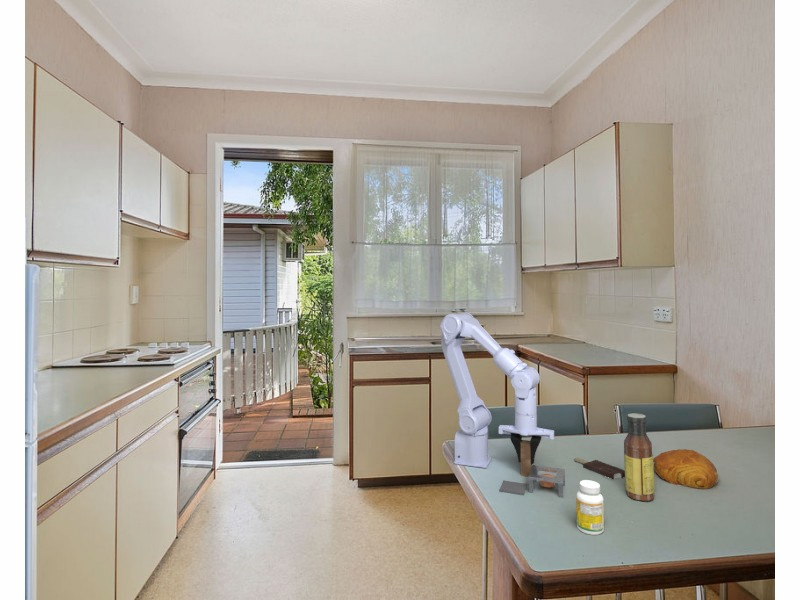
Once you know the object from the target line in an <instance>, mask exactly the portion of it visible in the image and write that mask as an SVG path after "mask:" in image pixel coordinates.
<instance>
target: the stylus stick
mask: <svg viewBox="0 0 800 600" xmlns="http://www.w3.org/2000/svg"><path fill="white" fill-rule="evenodd" d="M532 465H533V464H531V442H530V440H529V439H528V440H526V439H522V441H521V463H520V476H521V477H528V478H529V475H530V472H531V468H532Z"/></svg>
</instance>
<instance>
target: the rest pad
mask: <svg viewBox="0 0 800 600" xmlns="http://www.w3.org/2000/svg"><path fill="white" fill-rule="evenodd" d="M527 487H528V483H524V482H517V481H510V480H505V479H504V480H503V481H502V483H501V485H500V487H499V488H498V491H499V492H501V493H506V492H507V493H509V494H514V495H520V496H524V495H525V493H526V489H527Z"/></svg>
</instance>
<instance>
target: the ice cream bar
mask: <svg viewBox="0 0 800 600" xmlns="http://www.w3.org/2000/svg"><path fill="white" fill-rule="evenodd" d="M574 461H575V462H577V463H579V464H582V465H583V466H582V467H583V469H585V470H588V471H591V472H593V473H596V474H598V475H601V476H602V477H605V476H606V477H605V478H608V477H609V479H611V480H615V479H617V477H619V478H618V479H624V478H625V469H622V468H620V467H617V466H615V465H611V464H608V463H606V462H603V461H600V460H598V459H594V460H591V461H587V460H585V459H582V458H579V457H574ZM623 477H624V478H623Z"/></svg>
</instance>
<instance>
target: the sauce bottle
mask: <svg viewBox="0 0 800 600" xmlns="http://www.w3.org/2000/svg"><path fill="white" fill-rule="evenodd" d="M626 419H627V425H628V427H627V428H628V430H627V431H628V432H627V434H626V437H625V438H624V440H623V461H624V462H623V464H624V470H625V477H624V480H625V493H626V495H627V496H628V497H629V498H630V499H632V500H635V501H640V502H650V501H653V500H654V499H655V498H654V497H655V469H654V462H653V459H654V455H653V446H652V445H653V443H652V441H651V440H650V438H649V436H648V434H647V431H646V430H647V429H646V423H647V416H646V415H645V414H643V413H635V412H634V413H633V412H632V413H628V414H627V417H626Z"/></svg>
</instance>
